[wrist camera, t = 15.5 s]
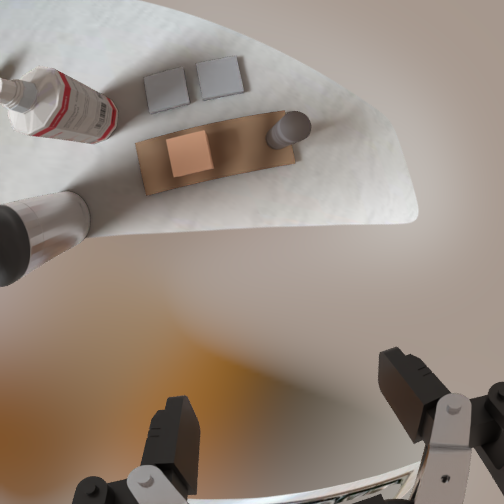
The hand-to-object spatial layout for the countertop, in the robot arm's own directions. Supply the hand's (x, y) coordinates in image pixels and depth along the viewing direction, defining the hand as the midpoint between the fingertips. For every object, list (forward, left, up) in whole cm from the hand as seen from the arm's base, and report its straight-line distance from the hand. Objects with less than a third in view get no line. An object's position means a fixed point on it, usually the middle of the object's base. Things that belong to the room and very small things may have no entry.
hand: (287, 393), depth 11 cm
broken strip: (-3, +23, -36) cm, 43 cm away
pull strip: (-2, +12, -36) cm, 38 cm away
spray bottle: (-19, +22, -36) cm, 47 cm away
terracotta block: (-5, +12, -35) cm, 37 cm away
